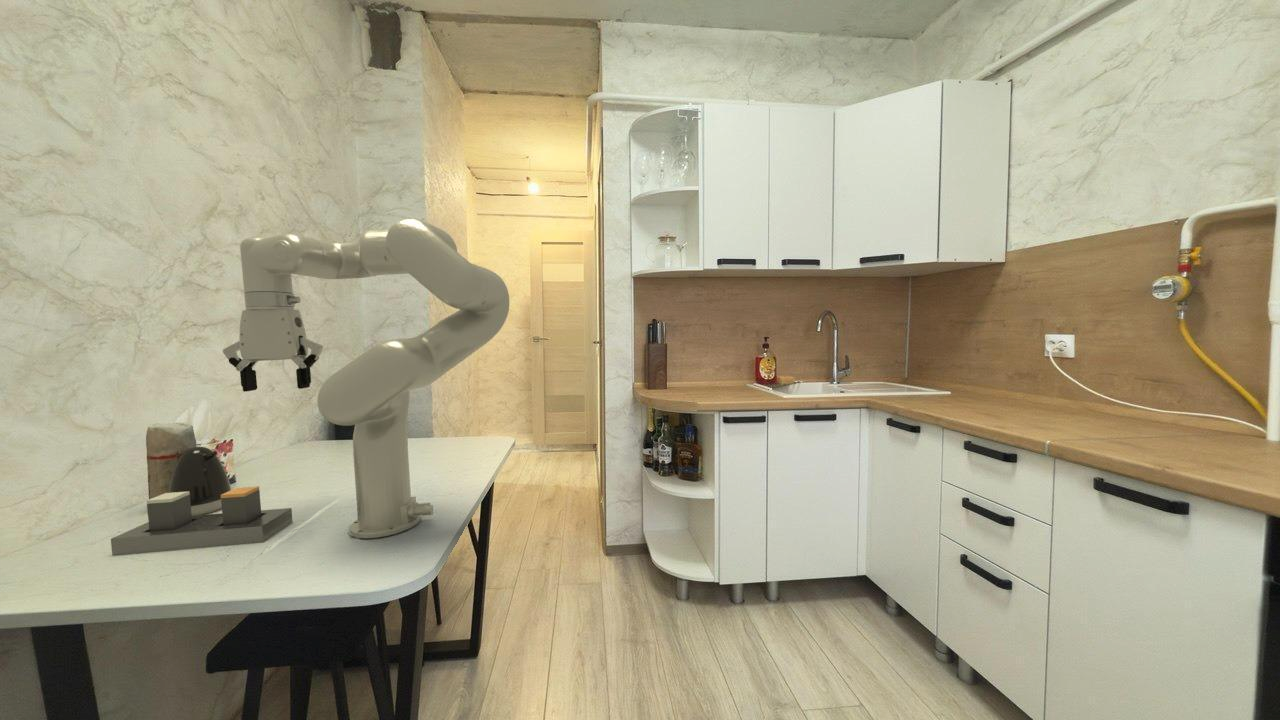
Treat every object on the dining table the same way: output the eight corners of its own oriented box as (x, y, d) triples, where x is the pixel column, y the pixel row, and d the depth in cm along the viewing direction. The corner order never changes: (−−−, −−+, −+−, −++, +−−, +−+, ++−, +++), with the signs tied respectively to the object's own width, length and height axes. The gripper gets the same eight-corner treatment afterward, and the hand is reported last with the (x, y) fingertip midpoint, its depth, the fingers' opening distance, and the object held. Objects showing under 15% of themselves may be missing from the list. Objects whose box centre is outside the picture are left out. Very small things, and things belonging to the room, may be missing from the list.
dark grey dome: (194, 525, 97) (188, 453, 96) (156, 522, 99) (149, 452, 98) (245, 506, 107) (239, 441, 106) (209, 505, 109) (203, 441, 108)
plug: (262, 529, 91) (259, 486, 90) (248, 538, 87) (244, 493, 86) (240, 531, 90) (236, 487, 90) (224, 540, 86) (220, 494, 86)
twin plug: (193, 535, 89) (189, 491, 89) (175, 544, 85) (171, 498, 85) (169, 537, 88) (165, 493, 88) (151, 546, 85) (146, 500, 84)
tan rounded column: (172, 504, 110) (164, 420, 109) (210, 501, 111) (202, 419, 110) (137, 518, 102) (128, 428, 100) (179, 515, 103) (170, 426, 101)
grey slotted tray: (292, 527, 94) (291, 507, 94) (263, 547, 85) (262, 526, 85) (157, 538, 90) (156, 518, 90) (112, 560, 82) (110, 538, 81)
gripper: (327, 303, 96) (333, 384, 97) (234, 305, 94) (241, 389, 95) (307, 300, 89) (314, 389, 90) (205, 303, 86) (214, 394, 87)
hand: (277, 389), depth 92 cm, fingers open, 9 cm apart
